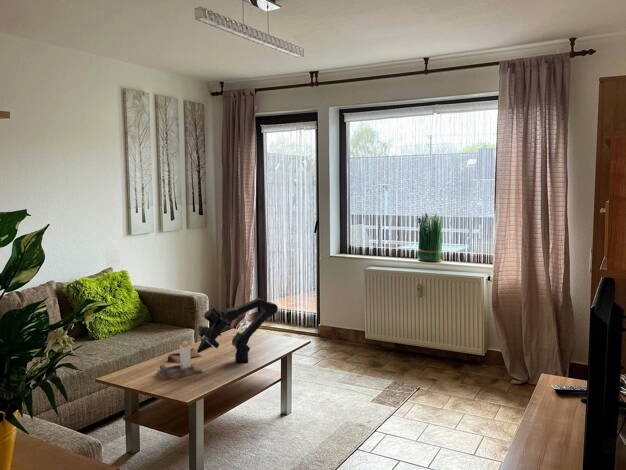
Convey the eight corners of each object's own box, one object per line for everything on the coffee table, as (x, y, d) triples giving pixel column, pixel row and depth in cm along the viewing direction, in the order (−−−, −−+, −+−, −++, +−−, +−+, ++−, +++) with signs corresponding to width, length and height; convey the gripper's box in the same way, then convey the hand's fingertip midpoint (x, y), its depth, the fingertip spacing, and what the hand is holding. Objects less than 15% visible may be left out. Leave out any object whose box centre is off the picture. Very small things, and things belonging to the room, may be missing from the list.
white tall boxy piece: (187, 366, 285) (187, 339, 283) (190, 369, 280) (190, 342, 279) (180, 368, 283) (179, 341, 281) (183, 370, 278) (182, 343, 277)
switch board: (195, 366, 290) (194, 358, 290) (202, 372, 280) (202, 364, 280) (157, 372, 280) (157, 364, 280) (163, 379, 270) (163, 371, 270)
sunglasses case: (176, 363, 294) (172, 352, 296) (170, 367, 298) (166, 356, 300) (202, 355, 308) (198, 344, 310) (196, 359, 312) (192, 349, 314)
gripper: (201, 316, 294) (181, 339, 289) (212, 323, 277) (192, 347, 273) (215, 328, 298) (196, 351, 294) (227, 336, 282) (207, 360, 277)
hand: (197, 352), depth 284 cm, fingers closed
